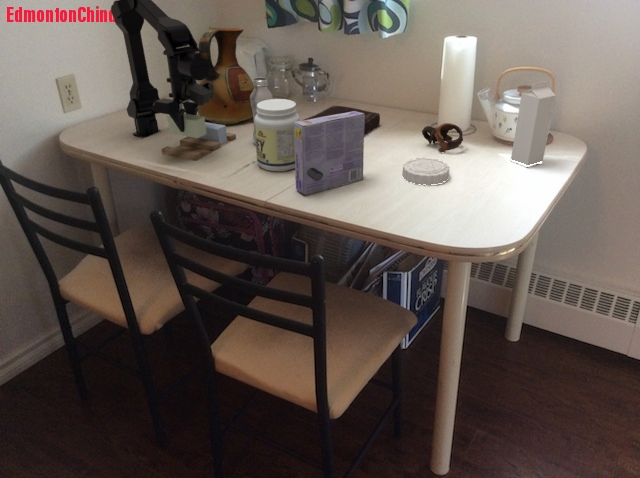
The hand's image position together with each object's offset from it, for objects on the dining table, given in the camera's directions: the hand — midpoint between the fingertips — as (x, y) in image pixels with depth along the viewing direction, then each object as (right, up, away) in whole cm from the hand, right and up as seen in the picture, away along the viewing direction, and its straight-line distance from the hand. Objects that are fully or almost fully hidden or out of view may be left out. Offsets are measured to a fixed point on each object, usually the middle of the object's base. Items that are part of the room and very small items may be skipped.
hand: (187, 129), depth 162 cm
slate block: (+4, -2, +10) cm, 11 cm away
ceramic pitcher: (+7, +9, +31) cm, 33 cm away
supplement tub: (+26, -10, -3) cm, 29 cm away
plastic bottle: (+21, -4, +9) cm, 23 cm away
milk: (+94, -10, -5) cm, 95 cm away
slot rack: (+2, -4, +7) cm, 9 cm away
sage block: (0, -1, +1) cm, 1 cm away
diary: (+43, +2, +20) cm, 47 cm away
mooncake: (+65, -15, -12) cm, 68 cm away
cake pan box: (+40, -17, -16) cm, 47 cm away
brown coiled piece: (+73, -4, +6) cm, 74 cm away
